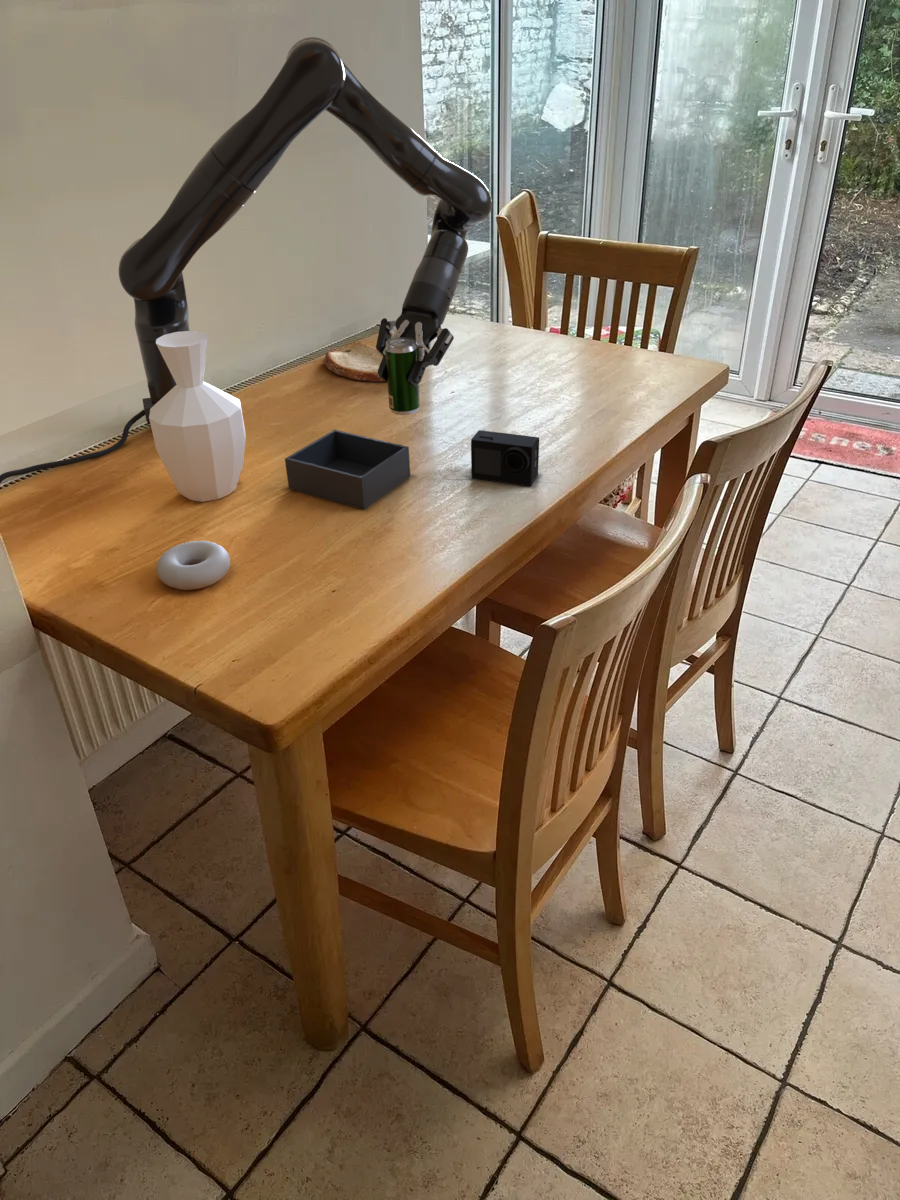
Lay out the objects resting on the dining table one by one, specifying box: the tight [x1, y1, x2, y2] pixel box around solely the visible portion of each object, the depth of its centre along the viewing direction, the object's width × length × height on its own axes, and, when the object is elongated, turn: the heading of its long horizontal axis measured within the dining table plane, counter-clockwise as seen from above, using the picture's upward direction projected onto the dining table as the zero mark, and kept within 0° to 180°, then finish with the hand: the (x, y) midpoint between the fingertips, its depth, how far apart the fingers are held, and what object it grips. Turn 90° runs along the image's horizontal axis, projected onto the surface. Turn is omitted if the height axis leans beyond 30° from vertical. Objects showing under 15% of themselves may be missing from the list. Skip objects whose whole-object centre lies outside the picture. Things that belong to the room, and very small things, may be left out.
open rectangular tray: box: [284, 429, 411, 510], centre depth 146 cm, size 13×15×5 cm
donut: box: [156, 540, 231, 591], centre depth 124 cm, size 10×4×10 cm
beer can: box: [385, 337, 421, 416], centre depth 152 cm, size 5×5×12 cm
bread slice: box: [323, 341, 385, 383], centre depth 192 cm, size 18×18×4 cm
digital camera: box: [470, 429, 540, 487], centre depth 145 cm, size 10×5×7 cm, turn 70°
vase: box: [149, 330, 247, 503], centre depth 140 cm, size 14×14×25 cm
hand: (397, 381), depth 151 cm, fingers closed on beer can, 5 cm apart
